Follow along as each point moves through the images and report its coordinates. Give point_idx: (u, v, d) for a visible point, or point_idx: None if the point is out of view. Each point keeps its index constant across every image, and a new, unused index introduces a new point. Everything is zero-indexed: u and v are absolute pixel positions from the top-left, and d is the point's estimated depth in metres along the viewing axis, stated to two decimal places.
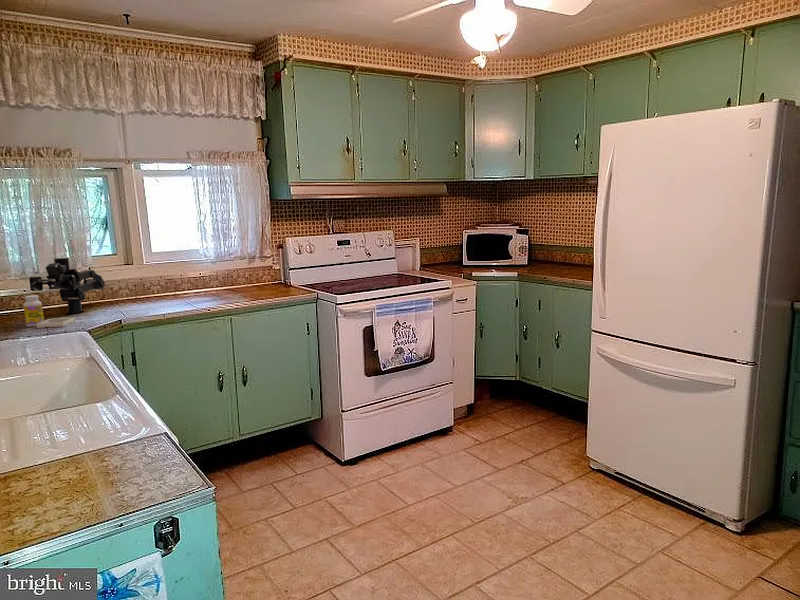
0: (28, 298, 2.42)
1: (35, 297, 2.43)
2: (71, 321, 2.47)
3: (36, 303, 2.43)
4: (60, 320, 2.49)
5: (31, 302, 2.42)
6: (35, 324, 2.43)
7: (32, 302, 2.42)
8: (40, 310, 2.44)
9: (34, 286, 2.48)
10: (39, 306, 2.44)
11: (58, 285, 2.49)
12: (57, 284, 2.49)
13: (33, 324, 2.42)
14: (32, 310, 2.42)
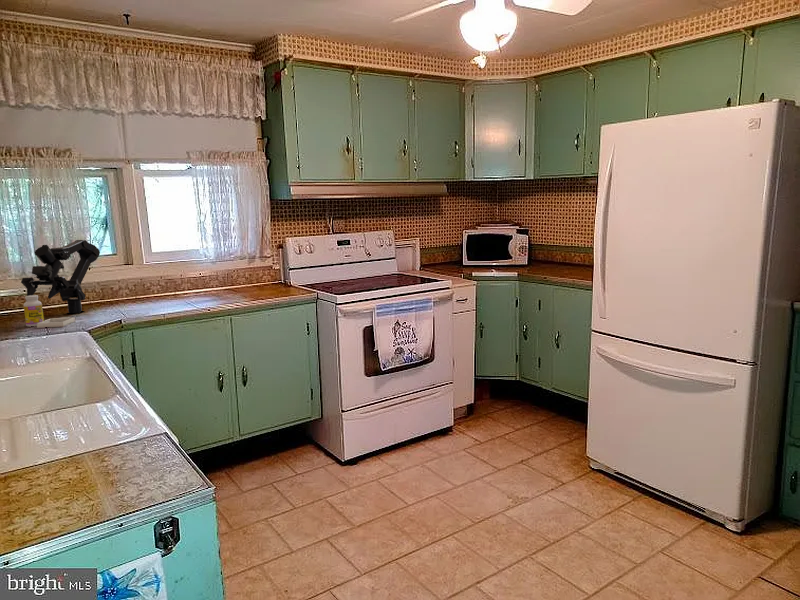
0: (28, 298, 2.42)
1: (35, 297, 2.43)
2: (71, 321, 2.47)
3: (36, 303, 2.43)
4: (60, 320, 2.49)
5: (31, 302, 2.42)
6: (35, 324, 2.43)
7: (32, 302, 2.42)
8: (40, 310, 2.44)
9: None
10: (39, 306, 2.44)
11: (52, 295, 2.49)
12: (51, 295, 2.49)
13: (33, 324, 2.42)
14: (32, 310, 2.42)
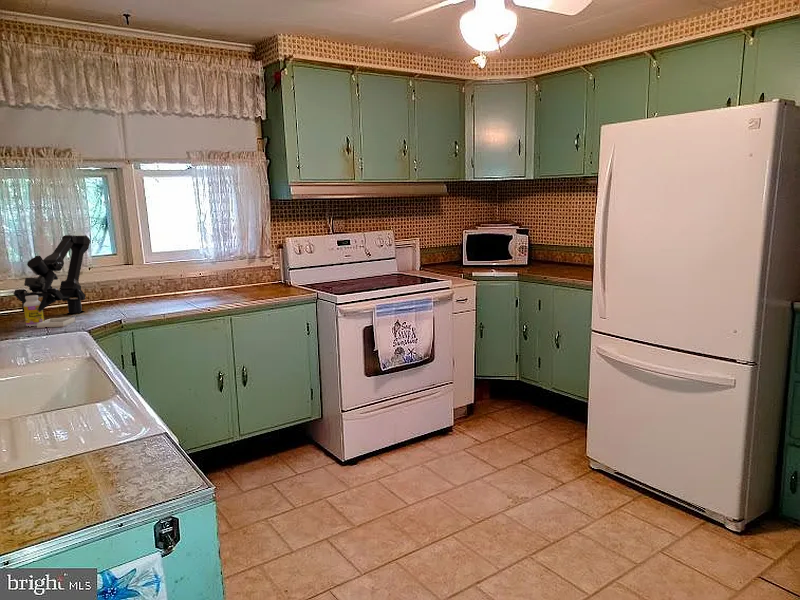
0: (28, 298, 2.42)
1: (35, 297, 2.43)
2: (71, 321, 2.47)
3: (36, 303, 2.43)
4: (60, 320, 2.49)
5: (31, 302, 2.42)
6: (35, 324, 2.43)
7: (32, 302, 2.42)
8: None
9: None
10: None
11: (43, 307, 2.44)
12: (41, 307, 2.44)
13: (33, 324, 2.42)
14: (32, 310, 2.42)
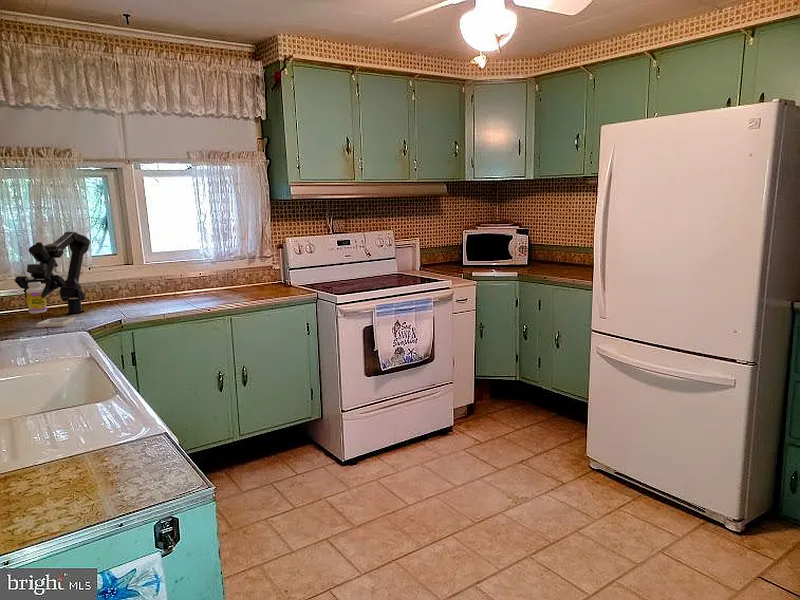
0: (31, 285, 2.40)
1: (38, 283, 2.42)
2: (71, 321, 2.47)
3: (39, 290, 2.42)
4: (60, 320, 2.49)
5: (34, 289, 2.41)
6: (38, 311, 2.42)
7: (35, 288, 2.41)
8: None
9: None
10: None
11: (46, 294, 2.44)
12: (45, 294, 2.43)
13: (36, 311, 2.41)
14: (35, 297, 2.41)
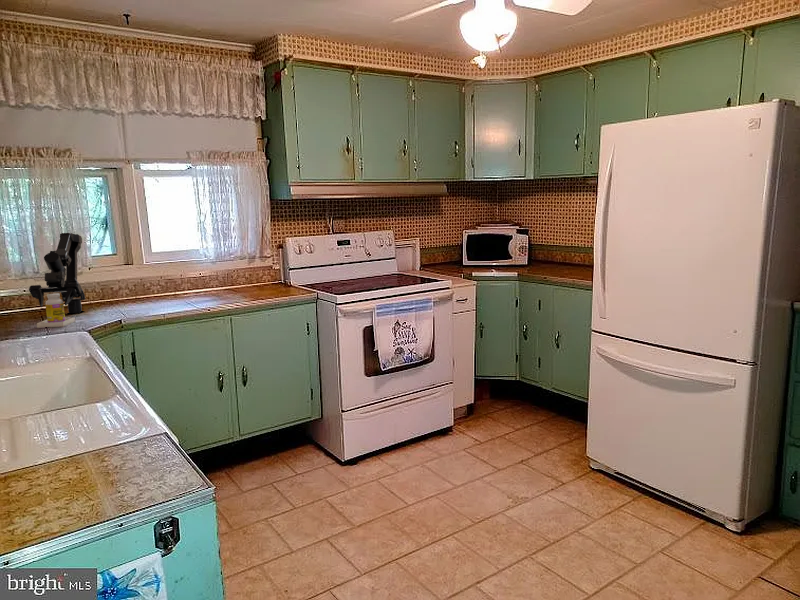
0: (52, 296, 2.41)
1: (58, 294, 2.43)
2: (71, 321, 2.47)
3: (60, 301, 2.43)
4: None
5: (55, 300, 2.42)
6: None
7: (55, 300, 2.42)
8: (63, 308, 2.45)
9: (42, 304, 2.42)
10: (62, 304, 2.44)
11: (68, 301, 2.45)
12: (67, 301, 2.44)
13: None
14: (57, 308, 2.42)
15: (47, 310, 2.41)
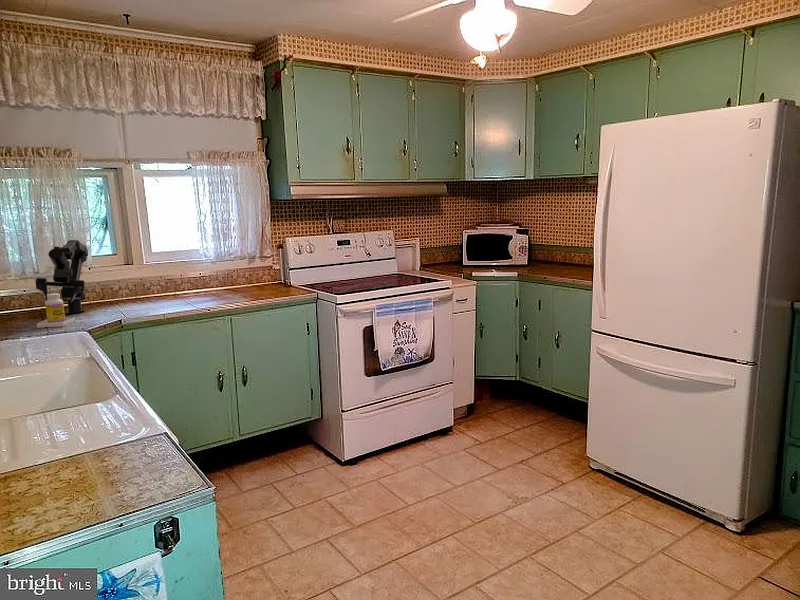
0: (51, 296, 2.41)
1: (58, 294, 2.43)
2: (71, 321, 2.47)
3: (60, 301, 2.43)
4: None
5: (55, 300, 2.42)
6: None
7: (55, 300, 2.42)
8: (63, 308, 2.45)
9: None
10: (62, 304, 2.44)
11: (73, 298, 2.55)
12: (72, 298, 2.54)
13: None
14: (56, 308, 2.42)
15: (47, 310, 2.41)
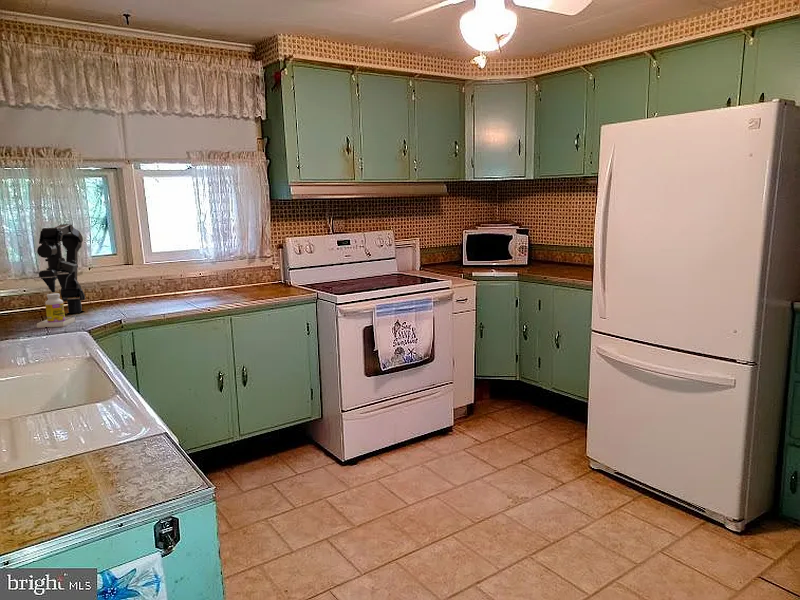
0: (52, 296, 2.41)
1: (58, 294, 2.43)
2: (71, 321, 2.47)
3: (60, 301, 2.43)
4: None
5: (55, 300, 2.42)
6: None
7: (55, 300, 2.42)
8: (63, 308, 2.45)
9: None
10: (62, 304, 2.44)
11: None
12: None
13: None
14: (57, 308, 2.42)
15: (47, 310, 2.41)
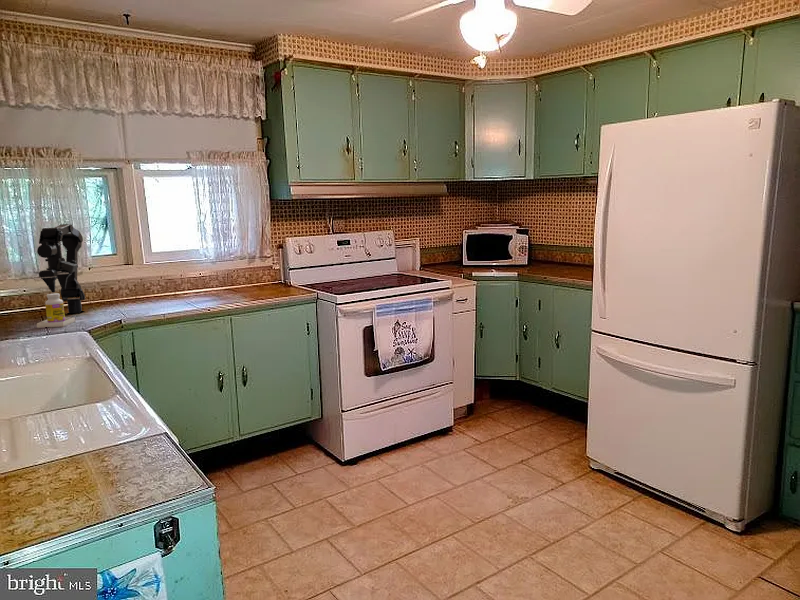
0: (51, 296, 2.41)
1: (58, 294, 2.43)
2: (71, 321, 2.47)
3: (60, 301, 2.43)
4: None
5: (55, 300, 2.42)
6: None
7: (55, 300, 2.42)
8: (63, 308, 2.45)
9: None
10: (62, 304, 2.44)
11: None
12: None
13: None
14: (56, 308, 2.42)
15: (47, 310, 2.41)
